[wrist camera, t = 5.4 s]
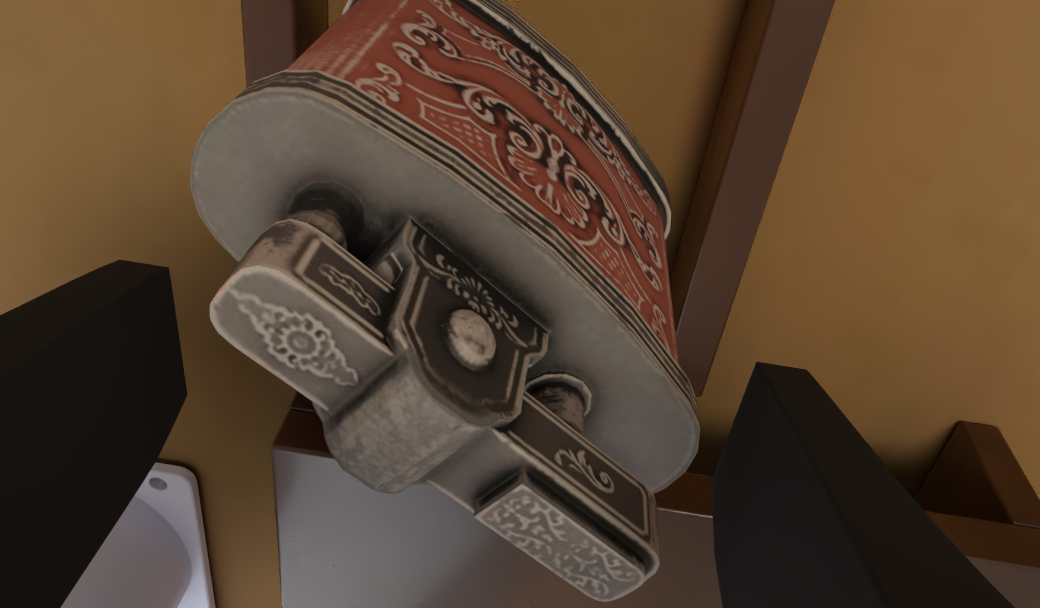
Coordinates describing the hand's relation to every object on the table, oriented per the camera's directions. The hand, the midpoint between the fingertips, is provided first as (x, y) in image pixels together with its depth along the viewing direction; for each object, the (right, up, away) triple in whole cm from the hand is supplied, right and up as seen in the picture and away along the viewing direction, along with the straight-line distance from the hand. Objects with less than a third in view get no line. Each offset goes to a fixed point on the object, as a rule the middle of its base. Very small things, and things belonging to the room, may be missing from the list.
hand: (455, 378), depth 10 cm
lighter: (+1, +5, +7) cm, 9 cm away
